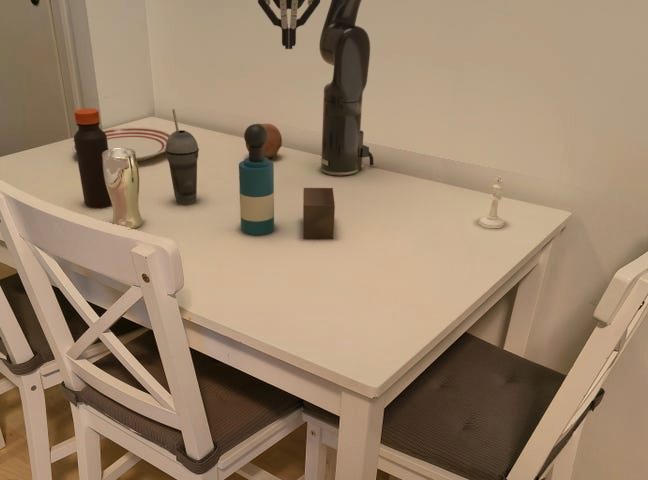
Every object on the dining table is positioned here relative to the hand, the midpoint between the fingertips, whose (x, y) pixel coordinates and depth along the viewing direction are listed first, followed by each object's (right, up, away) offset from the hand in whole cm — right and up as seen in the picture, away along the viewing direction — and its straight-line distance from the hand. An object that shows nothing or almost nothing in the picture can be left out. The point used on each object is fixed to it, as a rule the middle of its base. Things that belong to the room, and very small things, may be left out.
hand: (288, 48), depth 141 cm
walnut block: (+6, -37, 0) cm, 38 cm away
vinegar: (-42, -29, +13) cm, 53 cm away
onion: (-6, -11, +40) cm, 42 cm away
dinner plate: (-43, -8, +45) cm, 63 cm away
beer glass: (-34, -36, +3) cm, 49 cm away
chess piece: (+42, -36, +2) cm, 55 cm away
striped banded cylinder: (-1, -36, -2) cm, 36 cm away
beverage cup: (-23, -28, +14) cm, 39 cm away
